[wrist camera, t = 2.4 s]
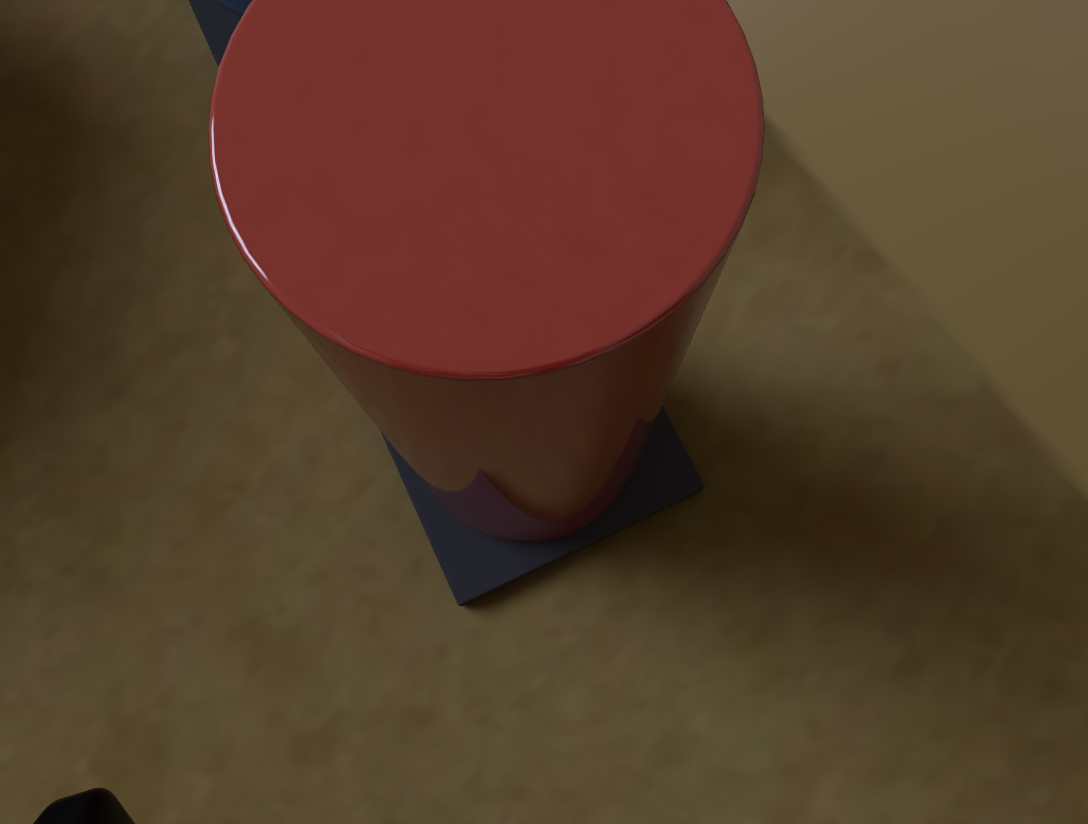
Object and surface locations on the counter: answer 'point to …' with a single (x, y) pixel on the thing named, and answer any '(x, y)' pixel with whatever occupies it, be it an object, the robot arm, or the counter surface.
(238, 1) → the blue cylinder
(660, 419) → the charcoal mat
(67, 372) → the counter surface
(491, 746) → the counter surface
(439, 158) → the red cylinder
